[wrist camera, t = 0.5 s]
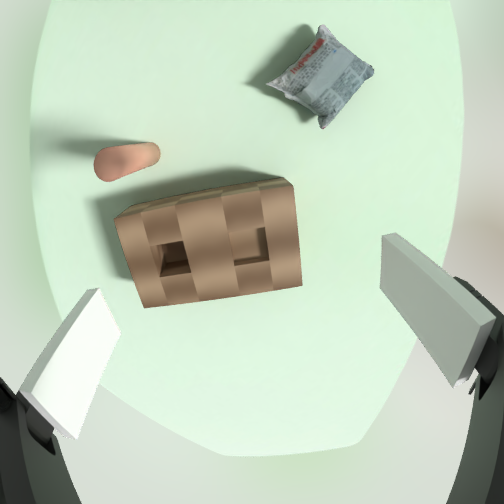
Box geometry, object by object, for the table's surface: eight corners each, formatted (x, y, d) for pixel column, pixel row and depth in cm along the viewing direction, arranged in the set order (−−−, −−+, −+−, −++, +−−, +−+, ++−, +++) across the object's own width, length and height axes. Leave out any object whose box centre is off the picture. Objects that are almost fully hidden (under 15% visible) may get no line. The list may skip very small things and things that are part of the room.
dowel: (136, 145, 31) (90, 153, 20) (158, 139, 31) (119, 143, 20) (140, 168, 32) (97, 185, 21) (162, 162, 32) (126, 176, 21)
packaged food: (263, 87, 29) (268, 79, 24) (318, 28, 25) (330, 15, 21) (318, 130, 31) (331, 130, 27) (368, 71, 28) (386, 64, 24)
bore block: (131, 205, 34) (113, 218, 28) (283, 177, 33) (293, 185, 28) (155, 284, 38) (144, 308, 33) (293, 263, 38) (302, 285, 33)
